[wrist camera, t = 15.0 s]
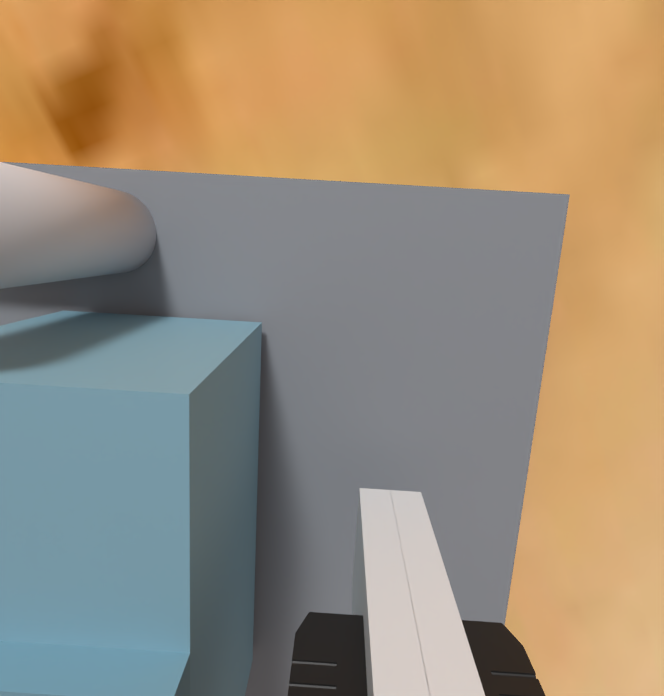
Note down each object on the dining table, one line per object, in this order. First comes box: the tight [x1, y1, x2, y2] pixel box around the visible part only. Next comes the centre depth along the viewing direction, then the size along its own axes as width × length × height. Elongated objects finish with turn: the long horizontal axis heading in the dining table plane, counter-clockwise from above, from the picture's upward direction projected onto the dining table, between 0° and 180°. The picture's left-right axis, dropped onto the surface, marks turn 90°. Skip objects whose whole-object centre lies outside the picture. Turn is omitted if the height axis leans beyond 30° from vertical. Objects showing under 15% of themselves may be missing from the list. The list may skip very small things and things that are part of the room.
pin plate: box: [0, 162, 569, 696], centre depth 11 cm, size 22×17×8 cm
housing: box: [0, 311, 262, 696], centre depth 10 cm, size 5×10×7 cm, turn 177°
